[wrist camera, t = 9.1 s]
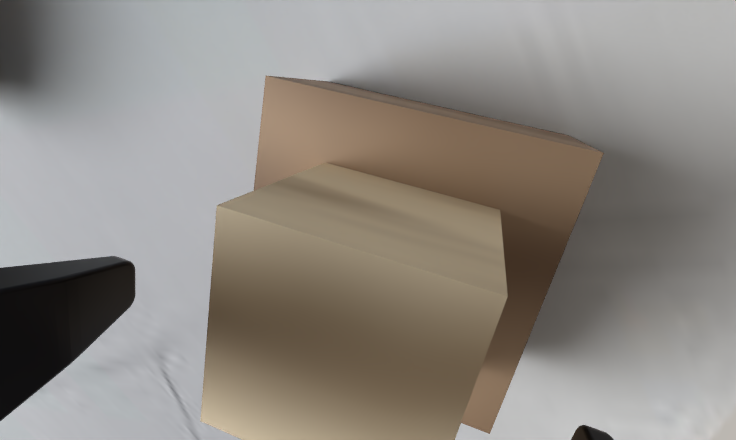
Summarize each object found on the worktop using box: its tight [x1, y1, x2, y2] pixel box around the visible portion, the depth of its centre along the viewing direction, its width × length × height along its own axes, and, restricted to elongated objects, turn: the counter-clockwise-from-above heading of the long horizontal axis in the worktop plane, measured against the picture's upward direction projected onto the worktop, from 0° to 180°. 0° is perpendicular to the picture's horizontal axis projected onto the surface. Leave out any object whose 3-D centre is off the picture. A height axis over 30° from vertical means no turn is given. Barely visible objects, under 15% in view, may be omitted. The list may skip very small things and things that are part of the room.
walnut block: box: [254, 76, 604, 434], centre depth 14 cm, size 9×9×5 cm
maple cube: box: [201, 163, 508, 440], centre depth 10 cm, size 5×5×5 cm
